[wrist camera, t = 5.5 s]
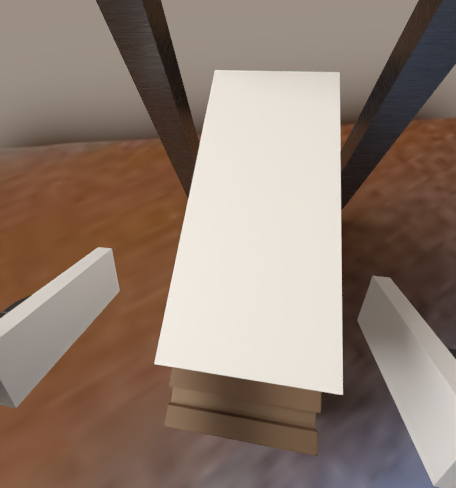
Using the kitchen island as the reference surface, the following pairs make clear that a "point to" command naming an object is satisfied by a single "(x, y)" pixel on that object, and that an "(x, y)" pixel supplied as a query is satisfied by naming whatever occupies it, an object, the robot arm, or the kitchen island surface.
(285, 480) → the kitchen island surface
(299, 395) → the offcut stack
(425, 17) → the frame
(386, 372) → the robot arm
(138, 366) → the kitchen island surface
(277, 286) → the white block
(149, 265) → the kitchen island surface
